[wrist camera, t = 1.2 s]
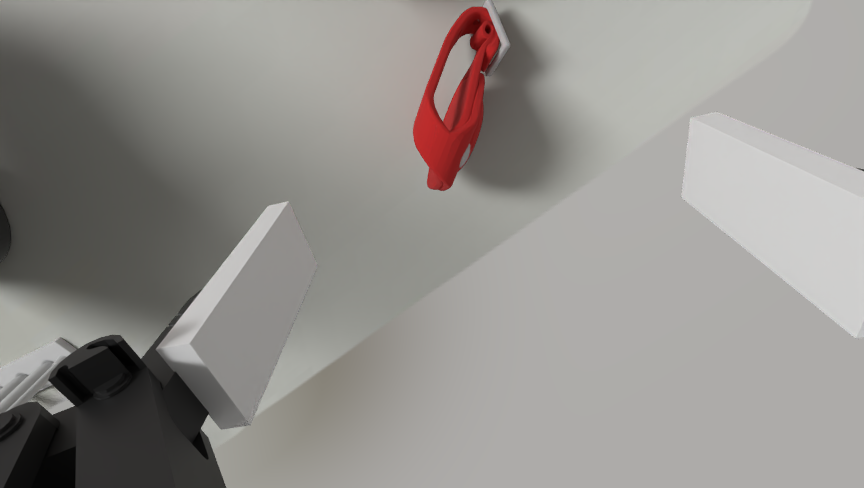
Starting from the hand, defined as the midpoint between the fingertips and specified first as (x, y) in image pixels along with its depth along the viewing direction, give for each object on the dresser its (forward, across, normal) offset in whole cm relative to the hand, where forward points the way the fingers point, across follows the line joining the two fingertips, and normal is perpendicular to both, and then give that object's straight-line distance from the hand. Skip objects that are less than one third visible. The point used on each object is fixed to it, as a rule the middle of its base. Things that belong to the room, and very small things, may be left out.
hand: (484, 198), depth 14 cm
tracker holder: (+19, 0, 0) cm, 19 cm away
